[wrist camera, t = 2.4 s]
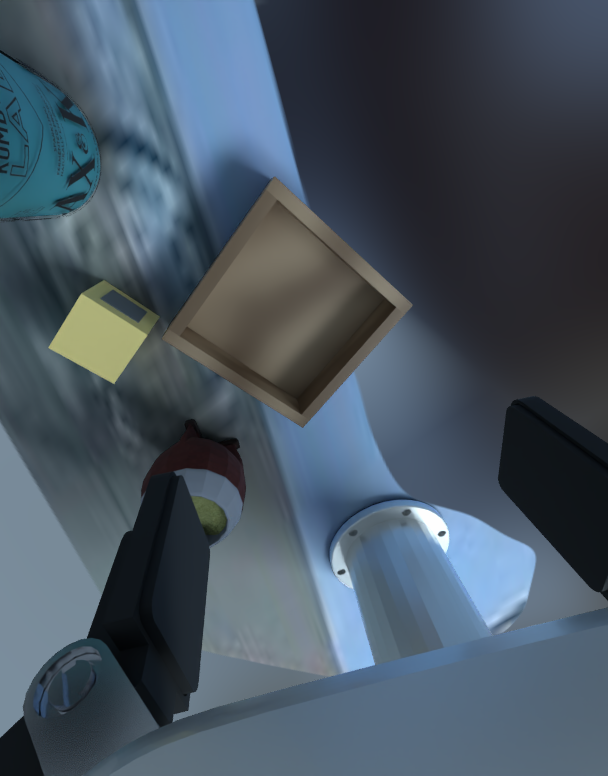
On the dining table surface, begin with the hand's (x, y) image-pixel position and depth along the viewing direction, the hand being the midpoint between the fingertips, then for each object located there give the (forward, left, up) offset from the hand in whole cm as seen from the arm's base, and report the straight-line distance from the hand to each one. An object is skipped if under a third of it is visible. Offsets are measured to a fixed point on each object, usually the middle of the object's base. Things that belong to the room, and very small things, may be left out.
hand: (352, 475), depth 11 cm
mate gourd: (-2, +14, -18) cm, 23 cm away
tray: (0, 0, -18) cm, 18 cm away
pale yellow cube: (+9, +8, -18) cm, 22 cm away
